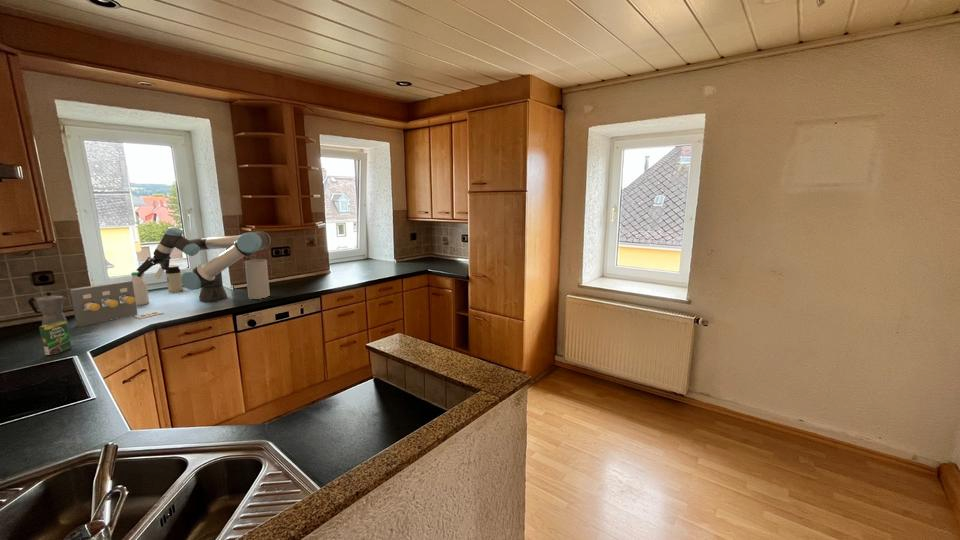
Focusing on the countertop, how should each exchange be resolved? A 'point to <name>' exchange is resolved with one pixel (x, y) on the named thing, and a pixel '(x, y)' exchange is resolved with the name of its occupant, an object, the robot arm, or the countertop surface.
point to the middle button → (110, 303)
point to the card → (148, 314)
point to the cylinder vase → (257, 278)
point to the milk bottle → (140, 290)
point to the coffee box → (55, 337)
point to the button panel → (95, 296)
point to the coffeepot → (49, 308)
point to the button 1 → (91, 306)
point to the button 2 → (127, 299)
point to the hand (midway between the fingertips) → (147, 278)
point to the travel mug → (174, 278)
